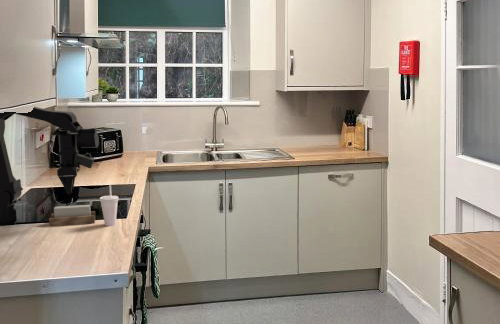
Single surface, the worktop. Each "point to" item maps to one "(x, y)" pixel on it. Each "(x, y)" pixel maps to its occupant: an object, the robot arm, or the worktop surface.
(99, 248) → the worktop surface
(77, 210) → the clay strip
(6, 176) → the robot arm
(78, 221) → the wooden block
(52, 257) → the worktop surface
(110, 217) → the smoothie
